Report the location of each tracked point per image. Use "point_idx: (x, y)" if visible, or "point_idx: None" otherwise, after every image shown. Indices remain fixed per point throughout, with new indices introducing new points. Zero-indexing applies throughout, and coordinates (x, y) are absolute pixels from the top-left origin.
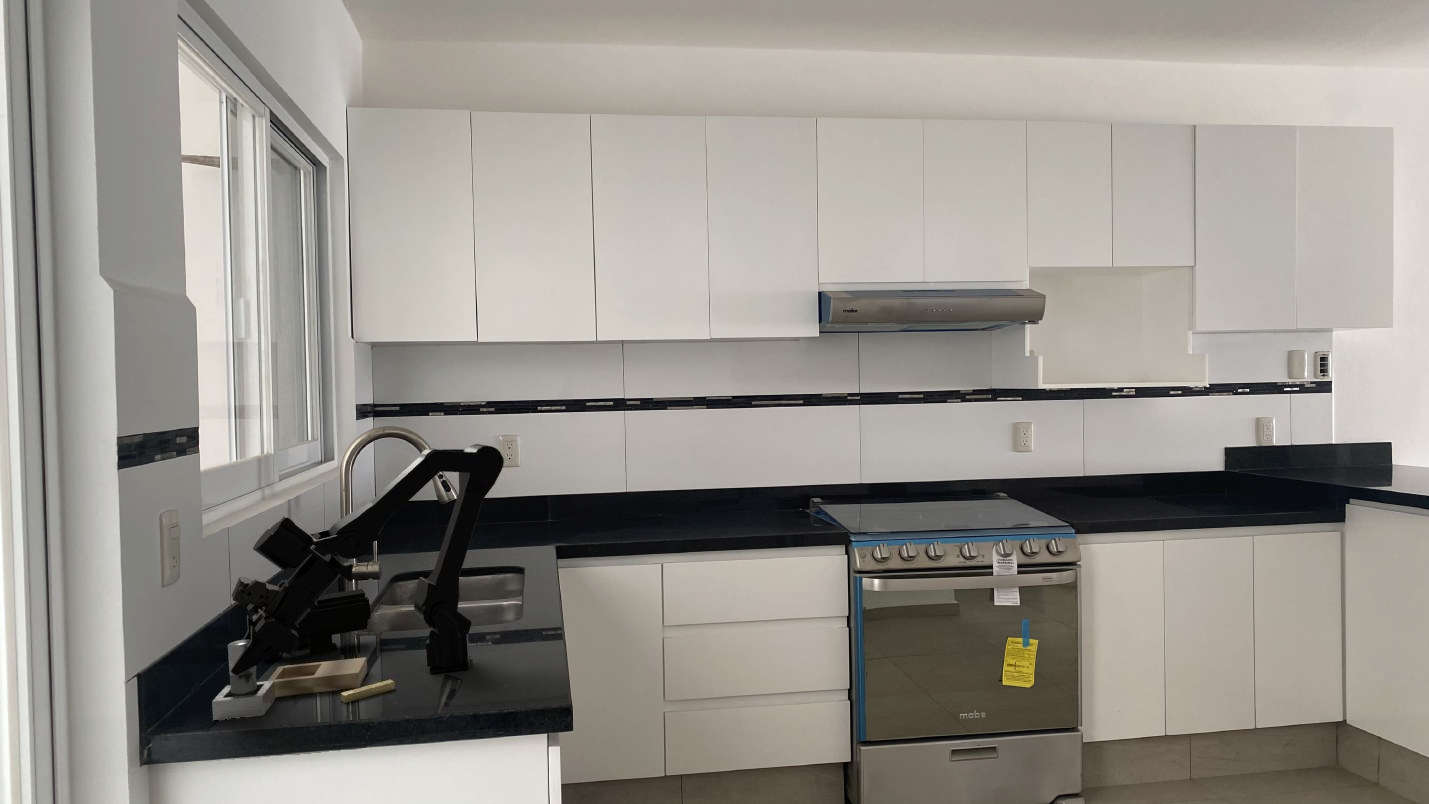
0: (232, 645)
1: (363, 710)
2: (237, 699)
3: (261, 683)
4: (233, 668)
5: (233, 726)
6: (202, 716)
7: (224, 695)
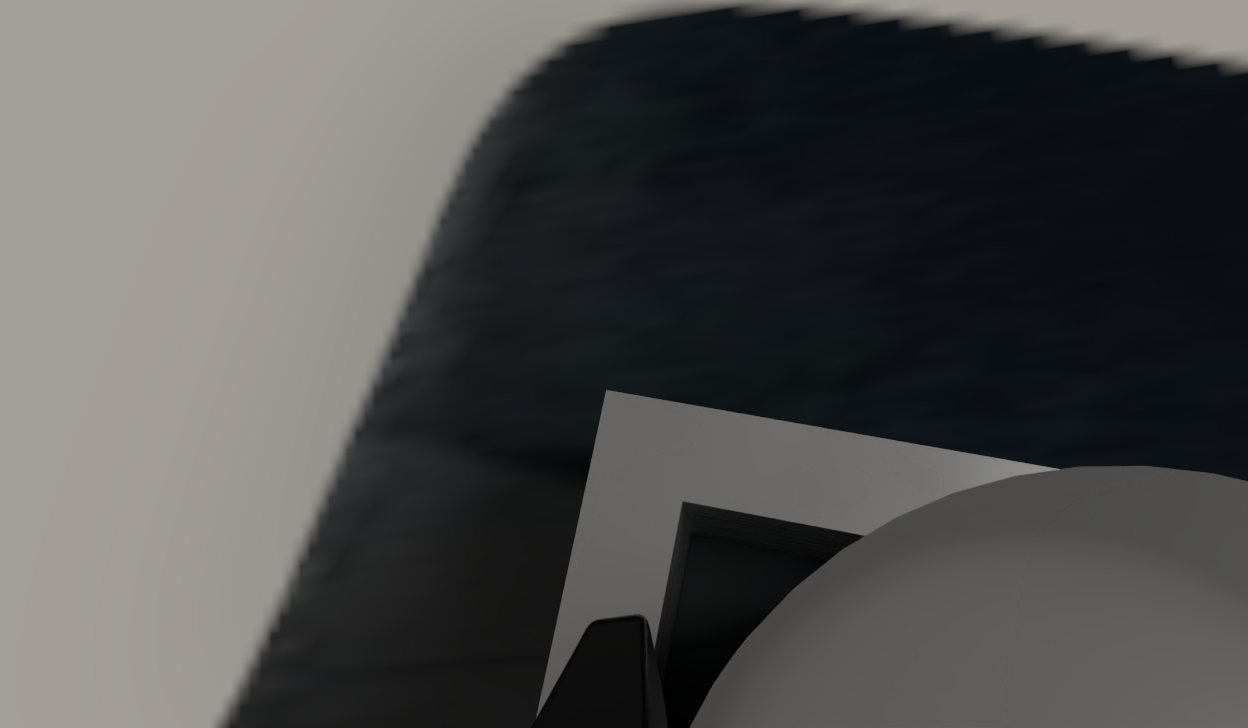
0: (938, 656)
1: None
2: (541, 702)
3: None
4: (561, 673)
5: (353, 658)
6: (846, 322)
7: (779, 518)
